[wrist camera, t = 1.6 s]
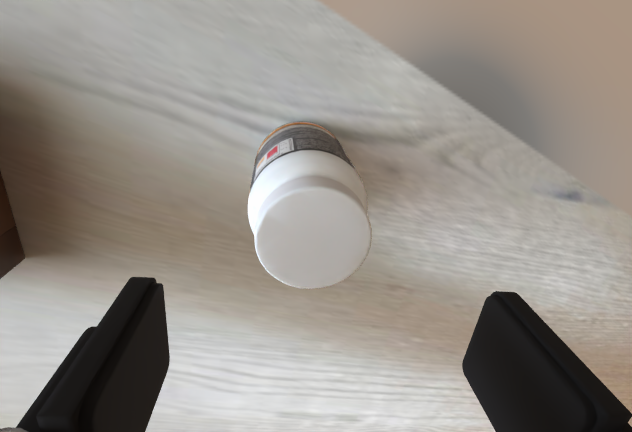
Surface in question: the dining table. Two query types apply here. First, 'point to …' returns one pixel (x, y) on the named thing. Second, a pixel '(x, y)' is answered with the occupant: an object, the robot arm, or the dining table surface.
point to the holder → (8, 236)
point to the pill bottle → (308, 208)
